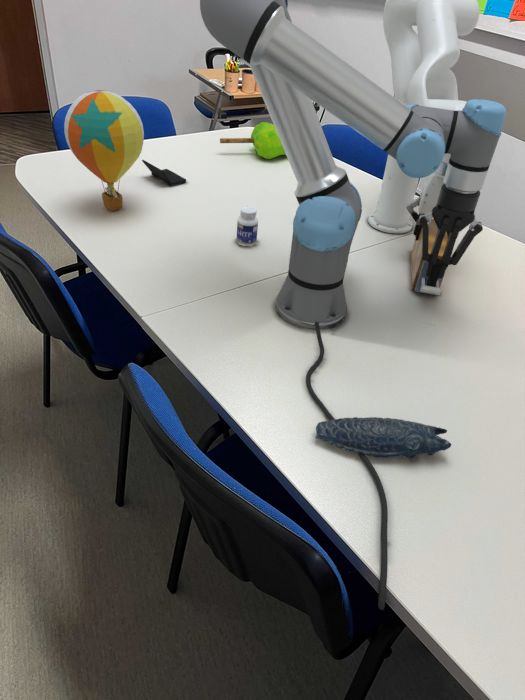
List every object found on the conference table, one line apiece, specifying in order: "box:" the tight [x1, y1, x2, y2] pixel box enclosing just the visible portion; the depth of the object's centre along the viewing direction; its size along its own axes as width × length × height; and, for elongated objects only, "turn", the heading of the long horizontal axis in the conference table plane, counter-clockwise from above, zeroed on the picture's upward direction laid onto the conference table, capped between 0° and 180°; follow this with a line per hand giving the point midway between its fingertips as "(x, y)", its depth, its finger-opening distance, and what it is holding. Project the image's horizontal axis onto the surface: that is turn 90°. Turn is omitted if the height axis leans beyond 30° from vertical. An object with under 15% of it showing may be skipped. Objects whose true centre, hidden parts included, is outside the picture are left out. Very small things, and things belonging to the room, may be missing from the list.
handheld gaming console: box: [141, 159, 187, 187], centre depth 162 cm, size 12×7×10 cm
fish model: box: [315, 416, 452, 459], centre depth 82 cm, size 7×21×5 cm, turn 84°
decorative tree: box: [219, 121, 287, 160], centre depth 186 cm, size 18×10×30 cm
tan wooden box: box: [411, 218, 448, 291], centre depth 127 cm, size 20×6×10 cm, turn 168°
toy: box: [63, 89, 145, 212], centre depth 136 cm, size 20×20×30 cm
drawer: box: [414, 259, 443, 296], centre depth 123 cm, size 24×5×8 cm, turn 168°
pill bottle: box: [235, 206, 259, 247], centre depth 132 cm, size 5×5×9 cm
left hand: (429, 288), depth 117 cm, fingers closed
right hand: (430, 239), depth 129 cm, fingers closed on tan wooden box, 6 cm apart
